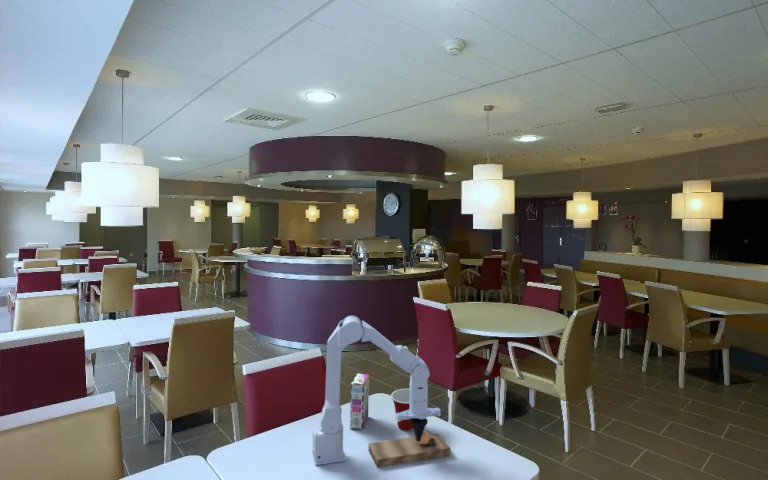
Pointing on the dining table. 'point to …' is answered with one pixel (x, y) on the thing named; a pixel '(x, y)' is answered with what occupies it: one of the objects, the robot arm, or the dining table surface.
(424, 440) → the ball
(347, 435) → the dining table surface
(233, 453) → the dining table surface
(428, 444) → the deck
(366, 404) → the candy bar box
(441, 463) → the dining table surface
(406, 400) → the plastic cup
